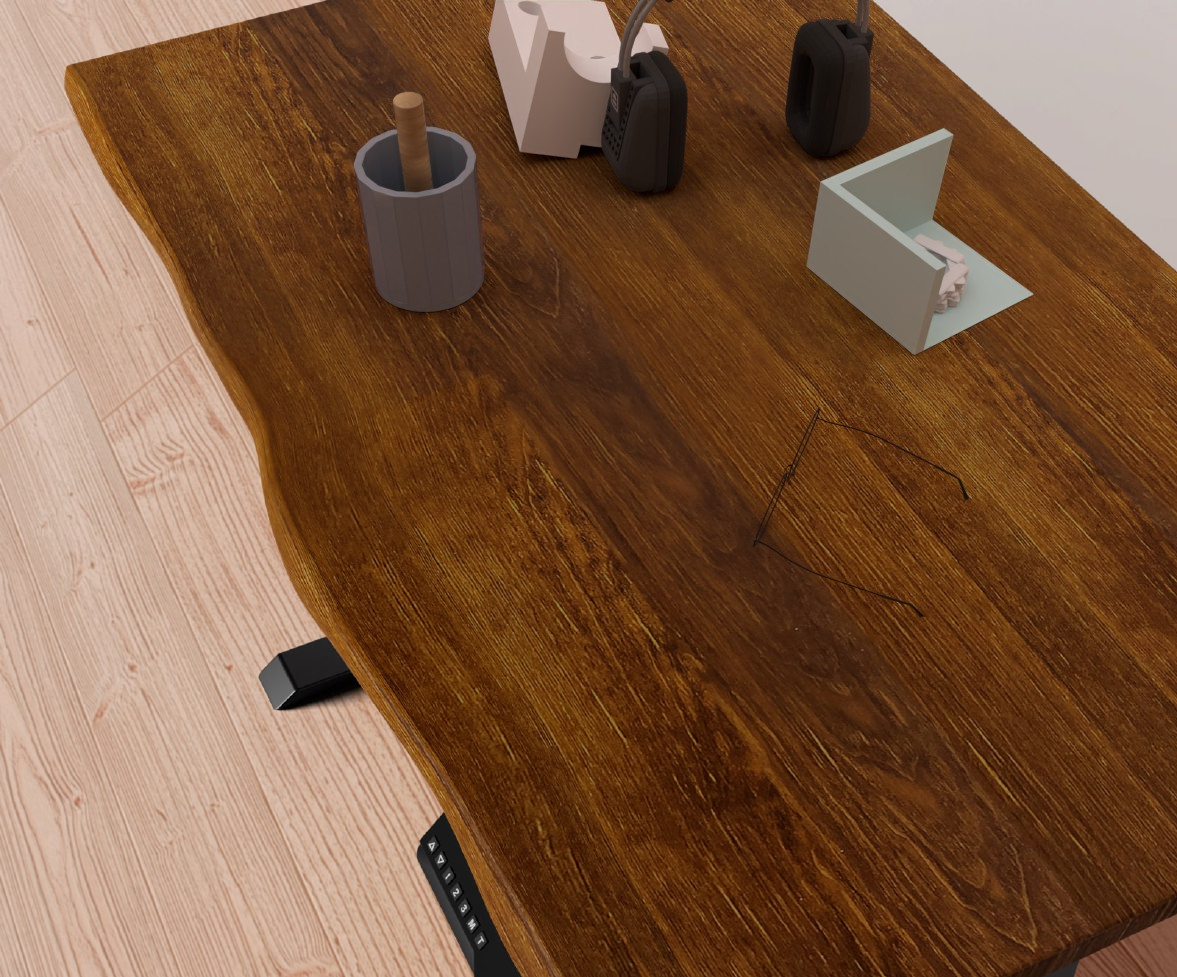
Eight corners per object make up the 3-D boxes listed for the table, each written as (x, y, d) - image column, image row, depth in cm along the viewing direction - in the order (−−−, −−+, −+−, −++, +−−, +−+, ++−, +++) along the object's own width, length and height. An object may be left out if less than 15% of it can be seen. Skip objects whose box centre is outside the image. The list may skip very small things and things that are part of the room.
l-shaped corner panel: (914, 355, 91) (936, 270, 85) (806, 266, 97) (820, 181, 91) (1033, 294, 95) (1063, 209, 89) (923, 212, 101) (943, 128, 95)
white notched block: (632, 165, 107) (668, 48, 99) (519, 151, 104) (548, 30, 96) (590, 53, 118) (621, -60, 110) (488, 38, 115) (511, -80, 107)
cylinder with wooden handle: (401, 283, 95) (376, 113, 84) (409, 253, 97) (385, 83, 86) (449, 285, 95) (430, 115, 83) (456, 255, 97) (438, 85, 86)
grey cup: (364, 309, 94) (344, 194, 86) (384, 239, 99) (365, 123, 91) (477, 314, 93) (467, 199, 86) (490, 243, 99) (482, 128, 91)
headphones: (838, 112, 109) (880, -133, 94) (871, 153, 106) (920, -95, 90) (595, 161, 105) (596, -87, 89) (621, 205, 101) (626, -46, 86)
